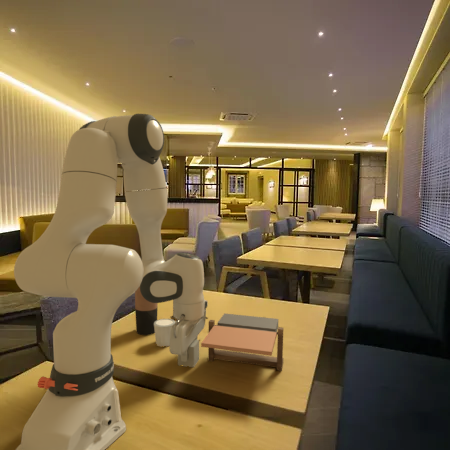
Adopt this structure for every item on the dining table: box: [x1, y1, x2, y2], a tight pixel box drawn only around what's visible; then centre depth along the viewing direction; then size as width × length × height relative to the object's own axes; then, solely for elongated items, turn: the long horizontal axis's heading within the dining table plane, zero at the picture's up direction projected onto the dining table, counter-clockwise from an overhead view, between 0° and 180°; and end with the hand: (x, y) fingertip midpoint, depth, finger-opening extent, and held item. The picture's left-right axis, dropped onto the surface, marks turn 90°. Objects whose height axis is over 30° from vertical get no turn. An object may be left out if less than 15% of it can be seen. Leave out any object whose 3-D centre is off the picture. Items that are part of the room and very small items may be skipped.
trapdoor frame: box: [207, 319, 284, 372], centre depth 102 cm, size 5×21×12 cm, turn 76°
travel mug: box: [134, 286, 159, 336], centre depth 123 cm, size 8×8×20 cm
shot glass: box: [154, 318, 176, 348], centre depth 114 cm, size 7×7×7 cm
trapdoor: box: [200, 313, 279, 357], centre depth 98 cm, size 22×18×2 cm
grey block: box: [177, 339, 200, 368], centre depth 102 cm, size 5×5×6 cm
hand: (188, 355), depth 102 cm, fingers closed on grey block, 5 cm apart
